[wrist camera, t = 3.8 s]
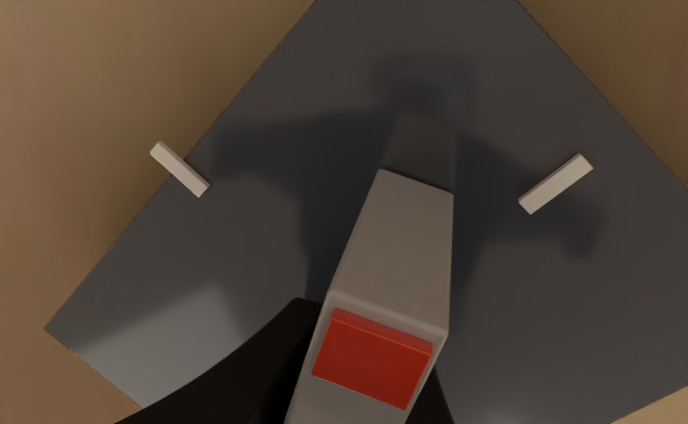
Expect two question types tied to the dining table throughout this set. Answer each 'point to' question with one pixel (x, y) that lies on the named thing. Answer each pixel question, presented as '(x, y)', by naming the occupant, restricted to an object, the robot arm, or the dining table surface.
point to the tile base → (431, 169)
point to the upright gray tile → (381, 310)
